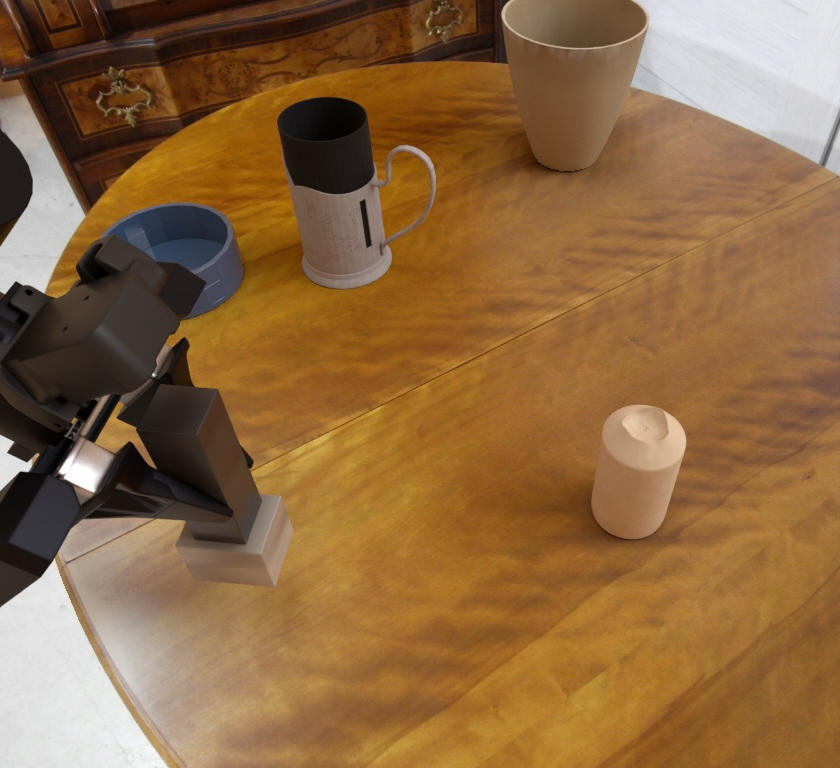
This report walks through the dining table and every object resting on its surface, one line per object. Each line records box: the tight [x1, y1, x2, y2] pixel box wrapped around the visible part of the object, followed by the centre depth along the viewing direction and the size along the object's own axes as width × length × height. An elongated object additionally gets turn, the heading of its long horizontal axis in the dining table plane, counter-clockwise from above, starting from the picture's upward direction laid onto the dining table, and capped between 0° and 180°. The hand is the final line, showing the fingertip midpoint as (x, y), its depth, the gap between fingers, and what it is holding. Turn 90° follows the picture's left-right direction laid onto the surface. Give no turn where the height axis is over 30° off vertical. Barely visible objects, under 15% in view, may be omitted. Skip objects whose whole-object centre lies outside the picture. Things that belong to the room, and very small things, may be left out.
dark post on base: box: [135, 384, 295, 588], centre depth 43 cm, size 5×4×14 cm
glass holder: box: [276, 96, 437, 290], centre depth 70 cm, size 9×14×15 cm, turn 73°
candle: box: [590, 404, 687, 540], centre depth 53 cm, size 6×6×10 cm
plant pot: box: [500, 0, 651, 172], centre depth 84 cm, size 15×15×16 cm
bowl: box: [99, 201, 245, 321], centre depth 72 cm, size 12×12×4 cm
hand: (239, 492), depth 43 cm, fingers closed on dark post on base, 3 cm apart
